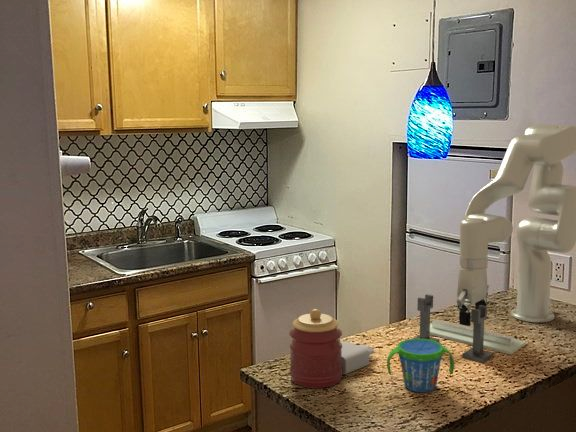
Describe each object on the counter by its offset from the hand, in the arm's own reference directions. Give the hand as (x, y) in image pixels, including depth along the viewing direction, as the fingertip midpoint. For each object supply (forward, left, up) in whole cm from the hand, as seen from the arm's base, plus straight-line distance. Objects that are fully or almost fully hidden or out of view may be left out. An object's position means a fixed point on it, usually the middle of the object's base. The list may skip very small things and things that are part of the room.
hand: (472, 320), depth 181 cm
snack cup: (+39, +6, -5) cm, 40 cm away
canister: (+51, -16, -5) cm, 54 cm away
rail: (+1, 0, -4) cm, 4 cm away
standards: (+13, 0, -5) cm, 14 cm away
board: (+1, 0, -5) cm, 5 cm away
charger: (+37, -15, -6) cm, 40 cm away
